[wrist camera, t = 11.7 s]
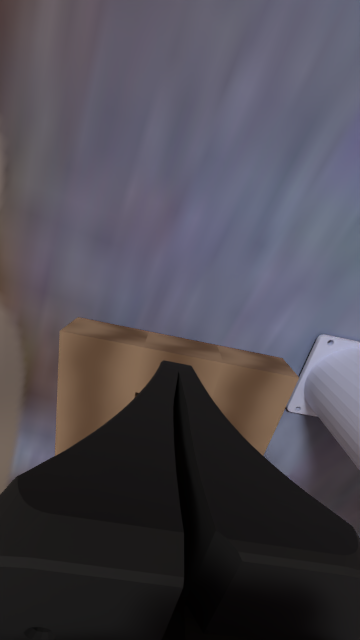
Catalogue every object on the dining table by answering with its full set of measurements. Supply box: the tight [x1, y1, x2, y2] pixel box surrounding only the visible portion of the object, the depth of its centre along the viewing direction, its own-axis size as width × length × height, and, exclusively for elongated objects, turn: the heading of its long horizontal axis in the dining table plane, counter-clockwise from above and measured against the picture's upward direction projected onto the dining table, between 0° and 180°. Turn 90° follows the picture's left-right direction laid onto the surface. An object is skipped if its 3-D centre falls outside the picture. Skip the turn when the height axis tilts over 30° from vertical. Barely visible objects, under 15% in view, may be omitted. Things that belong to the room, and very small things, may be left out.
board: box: [55, 317, 299, 456], centre depth 20 cm, size 18×14×3 cm
